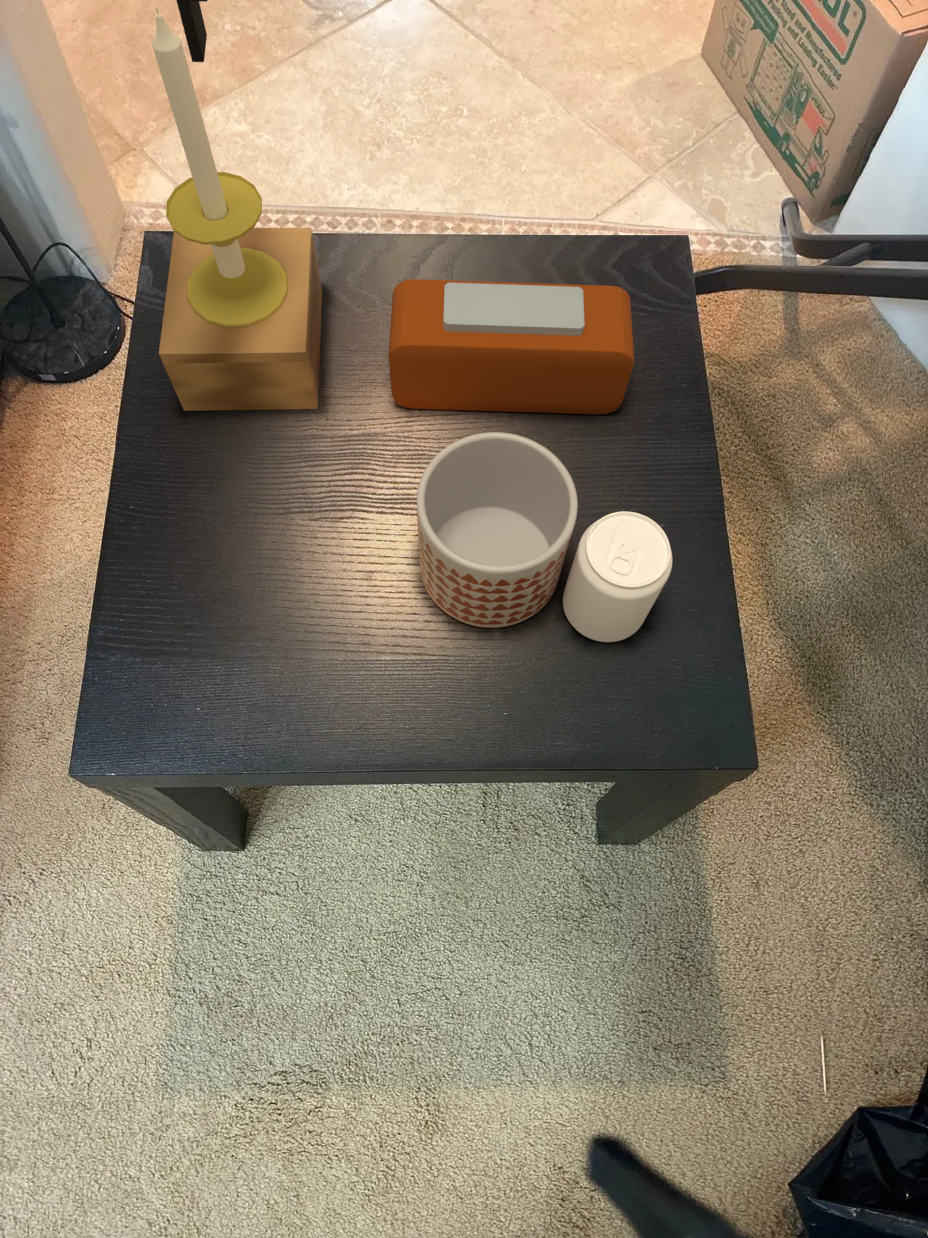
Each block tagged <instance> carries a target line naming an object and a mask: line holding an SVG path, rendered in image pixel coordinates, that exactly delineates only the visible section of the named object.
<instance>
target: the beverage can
mask: <svg viewBox="0 0 928 1238" xmlns="http://www.w3.org/2000/svg"><path fill="white" fill-rule="evenodd" d="M672 568H673V551H672V548H671V544H670V540H669V538H668V536H667V534H666V532H665V531H664V529H663V528H662V527H661V526H660V525H659V524H658V523H657V522H656V521H655V520H653V519H651V517H648V516H647V515H644V514H641V513H638V512H633V511H626V510H625V511H623V510H622V511H615V512H612V513H609V514H606V515H604V516H602V517H601V518H599V519H598V520H596V521H594V522H593V523H592V524H590V525H589V526H588V527H587V528H586V530H585V531H584V532H583V533H582V535H581V537H580V539H579V542H578V544H577V548H576V552H575V554H574V557H573V561H572V564H571V567H570V571H569V574H568V577H567V579H566V584H565V586H564V590H563V594H562V608H563V611H564V615H565V618H566V619H567V621H568V622H569V624H570V625H571V626H572V627H573V628H574V629H575V631H577V632H578V633H579V634H581V635H582V636H583V637H586V638H587V639H589V640H593V641H596V642H600V643H615V642H619V641H623V640H625V639H628V638H630V637H631V636H633V635H634V634H635V633H636V632H637V631H638V630H640V628H641V627H642V625H643V624H644V622H645V621H646V618H647V616H648V615H649V613H650V611H651V609H652V608H653V606H654V605H655V602H656V601H657V599H658V597H659V596H660V594H661V592H662V591H663V589H664V586H665V584H666V583H667V581H668V579H669V578H670V575H671V572H672Z"/></svg>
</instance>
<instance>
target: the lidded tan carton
mask: <svg viewBox="0 0 928 1238" xmlns="http://www.w3.org/2000/svg"><path fill="white" fill-rule="evenodd" d="M238 242H239V246H240V248H249V249H253V250H257V251H261V252H265V253H266V254H268V255H269V256H270V257H272V258H273V259H275V260H276V261H278V262H279V263H280V265H281V267H282V268H283V270H284V272H285V274H286V275H287V282H288V293H287V295H286V297H285V299H284V301H283V303H282V305H281V307H280V308H279V309H278V310H277V311H276V312H274V313H273V314H272V315H271V316H270V317H269V318H267V319H266V320H263V321H261V322H258V323H255V324H253V325H250V326H246V327H229V328H227V327H223V326H220V325H216V324H212V323H209V322H207V321H206V320H204V319H203V318H202V317H200V316H199V315H198V314H196V313H195V312H194V310H193V308H192V306H191V304H190V302H189V301H188V299H187V281H188V279H189V277H190V275H191V274H192V272H193V270H194V268H195V267H196V266H197V265H198V264H199V263H201V262H202V261H203V260H204V259H206V258H207V257H208V256H210V255H212V254H214V253H213V249H212V246H211V245H204V244H200V243H196V242H192V241H188V240H186V239H185V238H184V237H182V236H181V235H179V234H178V233H176V232H175V231H174V230H173V236H172V244H171V252H170V260H169V269H168V274H167V275H168V276H167V284H166V291H165V298H164V299H165V300H164V309H163V316H162V325H161V332H160V339H159V348H158V350H159V351H158V355H159V357H160V360H161V362H162V364H163V367H164V369H165V371H166V374H167V376H168V378H169V381H170V383H171V385H172V387H173V390H174V392H175V393H176V396H177V398H178V401H179V403H180V405H181V407H182V409H183V411H184V412H195V411H197V412H201V411H261V410H262V411H264V410H265V411H267V410H273V411H274V410H318V409H319V390H320V366H321V363H320V362H321V340H322V339H321V338H322V337H321V335H322V311H323V310H322V307H323V288H322V287H323V286H322V281H321V276H320V270H319V265H318V259H317V252H316V247H315V241H314V235H313V230H312V227H254V228H253V229H252V230H250V231H249V232H248V233H246V234H245V235H244V236H243V237H241V238H239V239H238Z"/></svg>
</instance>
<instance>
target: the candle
mask: <svg viewBox="0 0 928 1238" xmlns="http://www.w3.org/2000/svg"><path fill="white" fill-rule="evenodd" d="M155 11H156V14H155V34H154V35H155V36H154V37H153V39H152V42H151V47H152V50H153V54H154V56H155V59H156V64H157V66H158V70H159V73H160V76H161V79H162V83H163V85H164V89H165V93H166V95H167V99H168V102H169V105H170V108H171V112H172V116H173V119H174V121H175V125H176V129H177V132H178V134H179V135H178V136H179V138H180V141H181V145H182V148H183V151H184V155H185V157H186V160H187V164H188V167H189V171H190V173H191V177H188V178H187V179H185V180H184V181H183V182H181V183H180V184H179V185H177V186H176V187H175V188H174V189H173V190H172V192H171V194H170V195H169V197H168V199H167V201H166V206H165V207H166V209H165V216H166V219H167V221H168V222H169V225H170V226H171V229H172V230H173V232H174V231H175V232H176V233H178V234H179V235H181V236H182V237H184V238H185V239H186V240H188V241H192V242H196V243H200V244H204V245H211V246H212V249H213V253H214V254H212V255H210V256H208V257H207V258H206V259H204V260H203V261H202V262H201V263H199V264H198V265H197V266H196V267H195V268H194V270H193V272H192V274H191V275H190V277H189V279H188V281H187V299H188V301H189V302H190V304H191V306H192V308H193V310H194V312H195V313H196V314H198V315H199V316H200V317H202V318H203V319H204V320H206V321H207V322H209V323H212V324H216V325H220V326H223V327H227V328H229V327H246V326H250V325H253V324H255V323H258V322H261V321H263V320H266V319H267V318H269V317H270V316H271V315H272V314H273V313H274V312H276V311H277V310H278V309H279V308H280V307H281V305H282V303H283V301H284V299H285V297H286V295H287V293H288V282H287V275H286V274H285V272H284V270H283V268H282V267H281V265H280V263H279V262H278V261H276V260H275V259H273V258H272V257H270V256H269V255H268V254H266V253H265V252H261V251H257V250H253V249H249V248H240V246H239V242H238V239H239V238H241V237H243V236H244V235H245V234H246V233H248V232H249V231H250V230H252V229H253V228H256V225H257V223H258V221H259V220H260V218H261V216H262V214H263V198H262V196H261V193H260V192H259V190H258V188H257V187H256V185H255V184H254V183H252V182H251V181H249V180H248V179H246V178H245V177H243V176H242V175H240V174H239V175H238V174H235V173H231V172H226V171H218V170H217V167H216V163H215V160H214V155H213V152H212V148H211V145H210V141H209V137H208V133H207V130H206V126H205V123H204V118H203V115H202V112H201V109H200V105H199V101H198V98H197V93H196V89H195V87H194V82H193V79H192V75H191V72H190V68H189V65H188V60H187V58H186V57H187V56H186V53H185V50H184V46H183V43H182V42H183V41H182V40H181V38H180V37H179V35H177V34H175V33H174V32H173V31H172V29H170V27H169V26H168V24H167V22H166V21H165V19H164V17H163V15H162V13H159V9H158V6H155Z"/></svg>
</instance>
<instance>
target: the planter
mask: <svg viewBox="0 0 928 1238" xmlns="http://www.w3.org/2000/svg"><path fill="white" fill-rule="evenodd" d="M416 491H417V492H416V518H417V537H418V556H419V570H420V575H421V576H420V577H421V579H422V583H423V586H424V588H425V590H426V592H427V594H428V595H429V597H430V598H431V600H432V601H433V602H434V603H435V605H436V606H437V607H438V608H439V609H441V611H443V613H445V614H447V616H449V617H451V618H453V619H455V620H456V621H458V622H461V623H463V624H467V625H469V626H473V627H476V628H482V629H483V628H484V629H500V628H505V627H511V626H514V625H518V624H520V623H522V622H524V621H526V620H528V619H530V618H532V617H533V616H535V615H536V614H537V613H539V612H540V611H541V610H542V609H543V608H544V607H545V606H546V605H547V604H548V602H549V601H550V599H551V598H552V597H553V594H554V593H555V591H556V589H557V586H558V583H559V580H560V577H561V574H562V569H563V568H564V567H563V566H564V563H565V560H566V556H567V553H568V549H569V546H570V544H571V543H570V542H571V539H572V535H573V532H574V528H575V525H576V521H577V516H578V509H579V508H578V507H579V505H578V503H579V502H578V494H577V490H576V486H575V482H574V480H573V478H572V476H571V474H570V472H569V471H568V468H567V467H566V466H565V465H564V464H563V462H562V461H561V460H560V459H559V458H558V456H557V455H555V454H554V453H553V452H552V451H551V450H549V449H548V448H547V447H545V446H543V445H542V444H541V443H539V442H536V441H534V440H533V439H530V438H528V437H524V436H522V435H519V434H515V433H509V432H498V431H490V432H489V431H488V432H481V433H475V434H471V435H467V436H465V437H463V438H460V439H458V440H455V441H453V442H452V443H450V444H448V445H446V446H445V447H444V448H443V449H442V450H440V451H439V452H438V453H437V454H436V455H435V456H434V457H433V458H432V459H431V460H430V462H429V463H428V464H427V466H426V467H425V469H424V471H423V472H422V475H421V477H420V480H419V483H418V486H417V490H416Z"/></svg>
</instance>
